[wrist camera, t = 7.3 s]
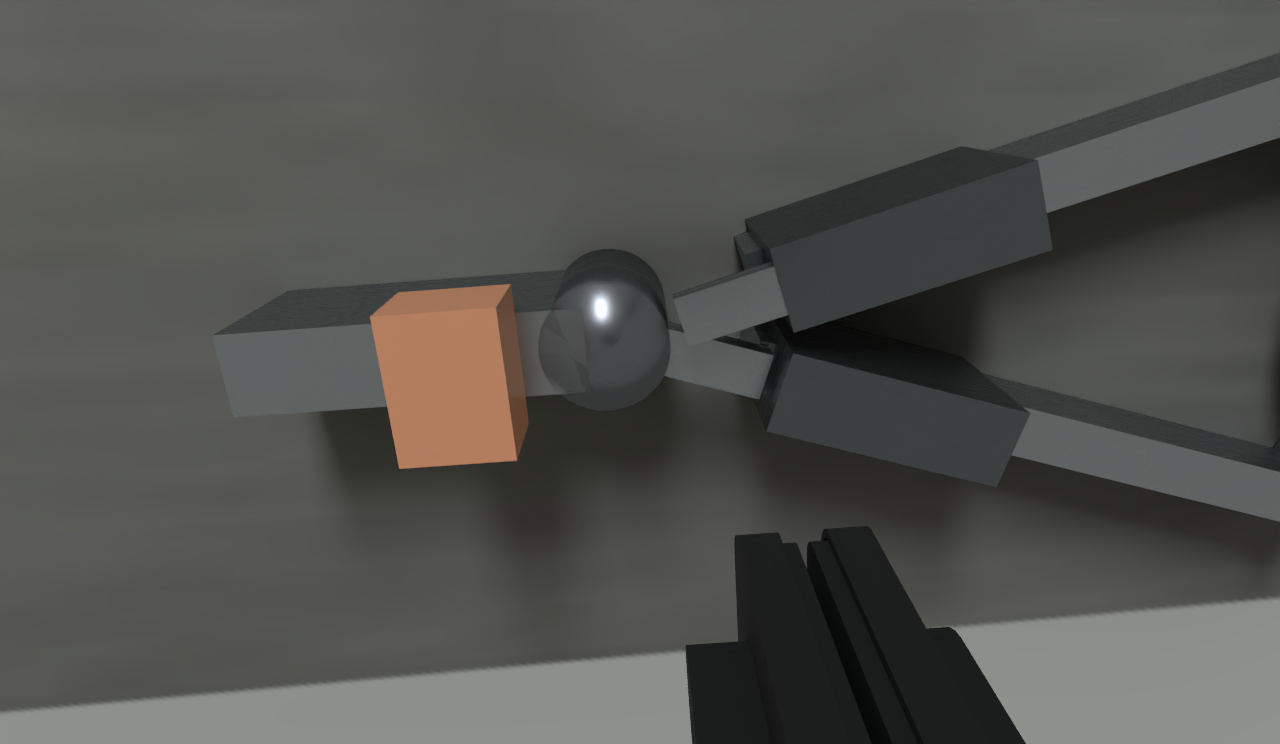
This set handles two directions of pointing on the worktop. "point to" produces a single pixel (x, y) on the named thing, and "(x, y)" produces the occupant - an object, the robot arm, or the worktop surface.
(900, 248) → the tongs jaw
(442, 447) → the tab
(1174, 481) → the tongs fixed
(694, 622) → the worktop surface
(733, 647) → the robot arm
